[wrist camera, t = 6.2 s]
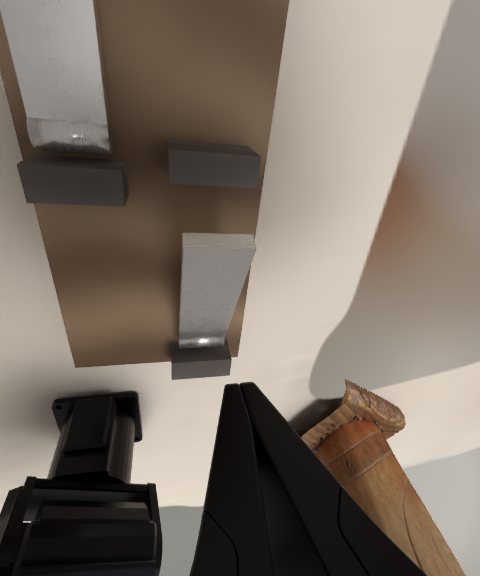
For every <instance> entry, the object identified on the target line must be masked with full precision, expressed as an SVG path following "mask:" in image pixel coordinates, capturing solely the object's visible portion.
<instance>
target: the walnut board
mask: <svg viewBox="0 0 480 576" xmlns="http://www.w3.org/2000/svg"><path fill="white" fill-rule="evenodd" d="M96 1H97V10H98V19H99V28H100V37H101V46H102V55H103V64H104V73H105V82H106V91H107V100H108V109H109V118H110V123H111V128H112V135H113V153H112V155H109V154H96V153H82V152H69V151H55V150H41V149H35V148H34V147H33V145H32V143H31V141H30V138H29V135H28V131H27V116H26V111H25V107H24V103H23V99H22V95H21V91H20V87H19V83H18V79H17V75H16V71H15V67H14V63H13V59H12V55H11V51H10V47H9V43H8V39H7V35H6V31H5V27H4V23H3V19H2V15H1V11H0V70H1V74H2V78H3V82H4V86H5V90H6V94H7V98H8V102H9V106H10V110H11V114H12V118H13V122H14V126H15V130H16V134H17V138H18V142H19V146H20V150H21V154H22V158H23V161H21V162H19V163H18V164H17V167H18V171H19V175H20V178H21V182H22V186H23V190H24V194H25V197H26V201H27V203H34V205H35V209H36V213H37V217H38V221H39V225H40V229H41V233H42V237H43V241H44V245H45V249H46V253H47V257H48V261H49V265H50V269H51V273H52V277H53V281H54V285H55V288H56V292H57V296H58V300H59V304H60V308H61V312H62V316H63V320H64V324H65V328H66V332H67V336H68V340H69V344H70V348H71V352H72V356H73V360H74V364H75V368H78V367H93V366H108V365H123V364H138V363H153V362H168V361H171V362H172V380H176V379H189V378H202V377H214V376H227V375H230V368H231V360H232V359H231V357H238V350H239V343H240V337H241V330H242V323H243V316H244V309H245V302H246V295H247V288H248V281H249V274H250V268H249V271H248V273H247V276H246V279H245V282H244V285H243V288H242V290H241V293H240V296H239V299H238V302H237V305H236V307H235V310H234V313H233V316H232V319H231V322H230V324H229V327H228V330H227V333H226V336H225V343H224V346H213V347H196V348H179V335H178V329H179V310H180V284H181V259H182V233H213V234H253V236H254V240H255V233H256V226H257V219H258V212H259V205H260V198H261V192H262V185H263V178H264V171H265V164H266V157H267V150H268V143H269V136H270V129H271V122H272V116H273V109H274V102H275V95H276V88H277V81H278V74H279V67H280V60H281V53H282V47H283V40H284V33H285V26H286V19H287V12H288V5H289V0H96ZM250 267H251V265H250Z"/></svg>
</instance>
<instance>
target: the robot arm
mask: <svg viewBox="0 0 480 576" xmlns="http://www.w3.org/2000/svg"><path fill="white" fill-rule="evenodd" d="M52 410H53V413H54V416H55V419H56V422H57V425H58V427H59V430H60V437H59V440H58V443H57V447H56V450H55V454H54V457H53V460H52V464H51V467H50V470H49V474H48V477H47V479H39V478H36V477H32V476H27V479H26V481H25V484H24V486H20V487H18V488H15V489H13V490H10V491H9V492H8V495H7V498H6V500H5V503H4V505H3V508H2V511H1V513H0V576H159V572H160V566H161V560H162V532H161V524H160V516H159V508H158V500H157V492H156V485H155V484H154V483H148V484H130V480H131V469H132V457H133V446H134V442H139V441H141V440H142V425H141V415H140V405H139V396H138V394H136V393H124V394H113V395H101V396H90V397H78V398H66V399H57V400H55V401H54V402H53V404H52ZM23 521H32V522H31V523H23ZM190 576H427V575H426V574H425V573H424V572H423V571H422V570H421V569H420V568H419V567H418V566H417V565H416V564H415V563H414V562H413V561H412V560H411V559H410V558H409V557H408V556H407V555H406V554H405V553H404V552H403V551H402V550H401V549H400V548H399V547H398V546H397V545H396V544H395V543H394V542H393V541H392V540H391V539H390V538H389V537H388V536H387V535H386V534H385V533H384V532H383V531H382V530H381V529H380V528H379V527H378V526H377V525H376V524H375V523H374V522H373V521H372V519H371V518H370V517H369V516H368V515H367V514H366V513H365V512H364V511H363V509H362V508H361V507H360V506H359V505H358V504H357V503H356V502H355V500H354V499H353V498H352V497H351V496H350V495H349V493H348V492H347V491H346V490H345V489H344V487H342V486H341V487H340V483H339V482H338V481H337V479H336V478H335V477H334V476H333V475H332V474H331V472H330V471H329V470H328V469H327V468H326V466H325V465H324V464H323V463H322V462H321V461H320V459H319V458H318V457H317V456H316V455H315V454H314V452H313V451H312V450H311V449H310V448H309V447H308V445H307V444H306V443H305V442H304V441H303V440H302V438H301V437H300V436H299V435H298V434H297V432H296V431H295V430H294V429H293V428H292V427H291V425H290V424H289V423H288V422H287V421H286V420H285V418H284V417H283V416H282V415H281V414H280V413H279V411H278V410H277V409H276V408H275V407H274V405H273V404H272V403H271V402H270V401H269V400H268V398H267V397H266V396H265V395H264V394H263V393H262V391H261V390H260V389H259V388H258V387H257V386H256V384H255V383H253V382H246V383H240V384H237V383H235V384H226V385H225V388H224V393H223V399H222V405H221V411H220V416H219V422H218V428H217V434H216V440H215V445H214V451H213V457H212V463H211V468H210V474H209V480H208V486H207V492H206V497H205V503H204V510H203V514H202V520H201V526H200V531H199V536H198V541H197V546H196V551H195V556H194V561H193V564H192V568H191V573H190Z"/></svg>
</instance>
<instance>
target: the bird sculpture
mask: <svg viewBox="0 0 480 576" xmlns="http://www.w3.org/2000/svg"><path fill="white" fill-rule="evenodd" d="M345 382H346V387H347V389H346V392H345V395H344V397H343V400H342V403H341V406H340V407H339V408H337V409H336V410H335V411H334V412H333V413H332V414H331V415H329V416H328V417H327V418H325V419H324V420H323V421H321V422H319V423H318V424H317V425H316V426H314V427H313V428H311V429H310V430H309V431H307V432H306V433H305V434H304V435H303V436H302V440H303V441H304V442H305V443H306V444H307V445H308V447H309V448H310V449H311V450H312V451H313V452H314V454H315V455H316V456H317V457H318V458H319V459H320V461H321V462H322V463H323V464H324V465H325V466H326V468H327V469H328V470H329V471H330V472H331V474H332V475H333V476H334V477H335V478H336V479H337V481H338V482H339V483H340V487H341V486H342V487H344V489H345V490H346V491H347V492H348V493H349V495H350V496H351V497H352V498H353V499H354V500H355V502H356V503H357V504H358V505H359V506H360V507H361V508H362V509H363V511H364V512H365V513H366V514H367V515H368V516H369V517H370V518H371V519H372V521H373V522H374V523H375V524H376V525H377V526H378V527H379V528H380V529H381V530H382V531H383V532H384V533H385V534H386V535H387V536H388V537H389V538H390V539H391V540H392V541H393V542H394V543H395V544H396V545H397V546H398V547H399V548H400V549H401V550H402V551H403V552H404V553H405V554H406V555H407V556H408V557H409V558H410V559H411V560H412V561H413V562H414V563H415V564H416V565H417V566H418V567H419V568H420V569H421V570H422V571H423V572H424V573H425V574H426V575H427V576H466V575H465V574H464V572H463V570H462V569H461V567H460V565H459V563H458V561H457V559H456V558H455V556H454V555H453V553H452V551H451V549H450V548H449V546H448V545H447V543H446V541H445V539H444V538H443V536H442V534H441V533H440V531H439V529H438V528H437V526H436V524H435V523H434V521H433V520H432V518H431V516H430V514H429V512H428V511H427V509H426V507H425V505H424V504H423V502H422V501H421V499H420V497H419V496H418V494H417V493H416V491H415V489H414V488H413V486H412V485H411V483H410V481H409V479H408V478H407V476H406V474H405V473H404V471H403V470H402V468H401V466H400V464H399V463H398V461H397V459H396V457H395V455H394V454H393V452H392V450H391V448H390V446H389V444H388V443H387V441H386V439H388V438H390V437H391V436H393V435H394V434H395V433H398V432H399V431H400V430H402V429H403V428H404V427H405V417H404V415H403V413H402V412H401V410H400V409H399V408H397V407H394V405H393V404H392V405H391V403H389V402H387V401H384V399H382V398H380V397H378V396H377V395H374V394H372V392H367V390H365V389H362V387H361V388H360V386H357V385H356V384H355V383H352V382H349V381H348V380H346V379H345ZM354 414H355V415H356V416H357V417H356V419H354V420H353V418H354V417H355V415H354ZM364 417H366V418H365V420H362V419H363V418H364ZM351 421H352V422H351ZM376 421H377V422H378V423H379V424H378V423H377V422H376ZM328 423H329V424H328ZM376 423H377V424H376ZM331 424H334V425H336V427H333V426H331ZM341 425H342V426H341ZM327 429H329V430H327ZM326 430H327V431H326ZM390 431H391V432H390ZM326 433H328V434H327V435H326ZM330 433H331V434H330ZM323 434H324V435H323ZM321 435H322V436H321ZM320 436H321V437H323V438H322V440H323V441H321V440H319V439H320V438H321V437H320ZM311 444H312V445H311ZM313 444H314V445H313ZM316 447H317V448H316ZM314 448H316V449H314ZM315 451H318V452H317V453H316V452H315Z"/></svg>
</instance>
